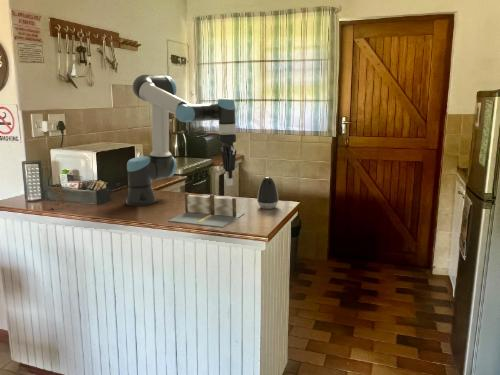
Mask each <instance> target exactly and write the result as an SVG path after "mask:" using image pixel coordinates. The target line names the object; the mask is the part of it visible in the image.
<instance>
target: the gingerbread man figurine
mask: <svg viewBox="0 0 500 375" xmlns="http://www.w3.org/2000/svg"><path fill="white" fill-rule="evenodd" d="M62 192H64V193H62ZM54 193H57V194H54ZM51 194H52V195H53V196H56V199H55V203H54V205H53V207H54V206H58V205H62V204H66V203H67V201H66V200H65V199H64V198H65V197H67V196H68V193H67V191H66V190H63V186H62V184H59V183H58V184H55V187H54V188H52V189H51ZM61 199H62V200H63V201H62V200H61ZM57 202H58V203H57ZM60 203H61V204H60Z"/></svg>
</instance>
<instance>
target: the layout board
mask: <svg viewBox="0 0 500 375" xmlns="http://www.w3.org/2000/svg"><path fill="white" fill-rule="evenodd" d="M242 216H245V213H243V212H236V216H227V215H217V214H215V215H211V214H209V215H204V214H194V213H187V212H183V213H181V214H179V215H177V216H174V217H172V218H171V219H168V220H167V222H170V223H179V224H189V225H196V226H204V227H214V228H222V229H223V228H225V227H226V226H228V225H230V224H231V223H233V222H235V221H236V220H237V219H240V218H241V217H242Z"/></svg>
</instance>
